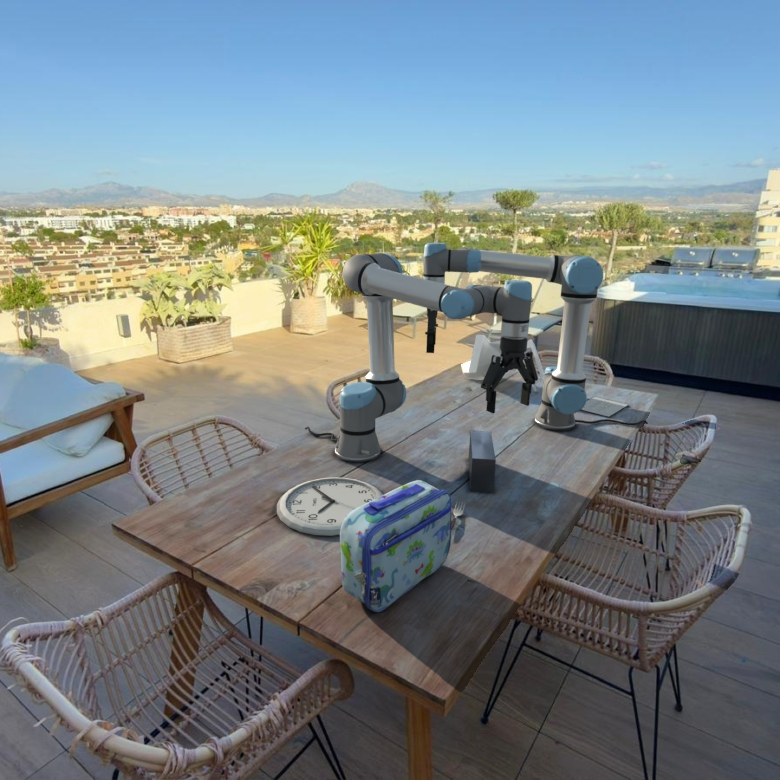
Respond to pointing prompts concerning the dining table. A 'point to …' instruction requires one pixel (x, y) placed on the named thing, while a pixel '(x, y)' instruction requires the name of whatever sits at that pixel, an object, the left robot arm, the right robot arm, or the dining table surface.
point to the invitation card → (603, 406)
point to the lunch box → (394, 543)
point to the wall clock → (323, 504)
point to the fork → (457, 514)
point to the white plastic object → (484, 354)
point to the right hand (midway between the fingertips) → (431, 348)
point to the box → (481, 461)
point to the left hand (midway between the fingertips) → (507, 408)
